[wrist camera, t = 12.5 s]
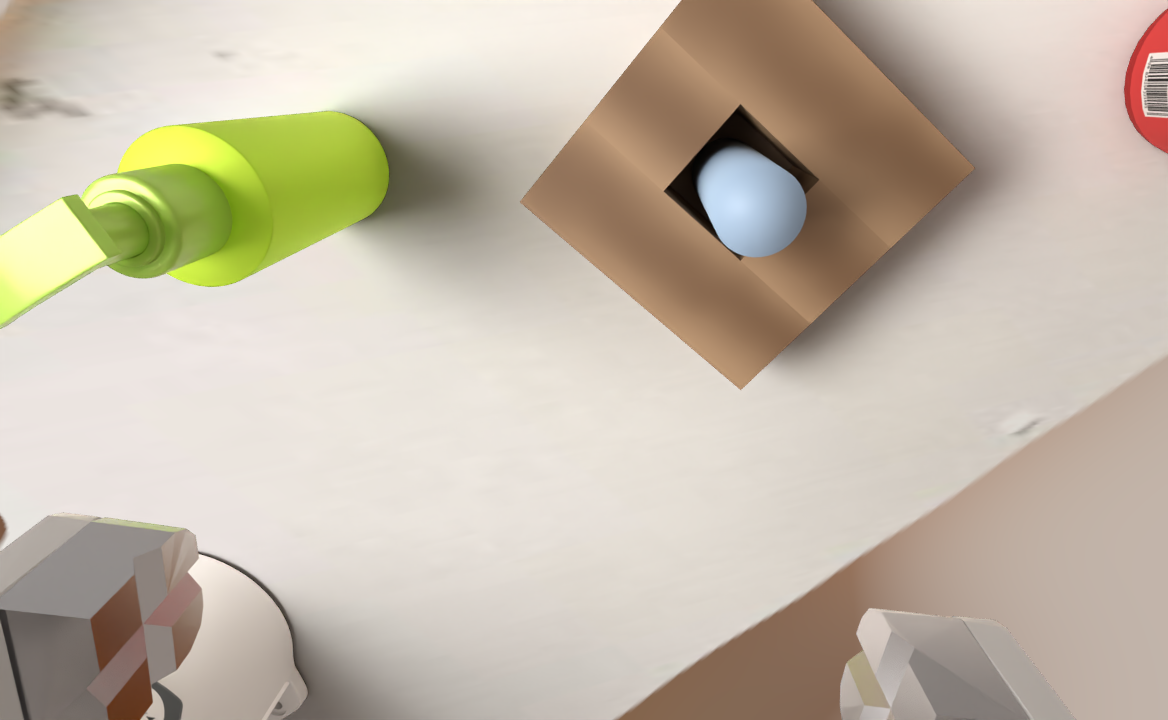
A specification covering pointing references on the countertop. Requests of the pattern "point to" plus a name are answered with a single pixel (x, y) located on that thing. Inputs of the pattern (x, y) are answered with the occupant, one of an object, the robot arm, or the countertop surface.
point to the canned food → (1150, 84)
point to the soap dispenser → (201, 205)
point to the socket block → (774, 129)
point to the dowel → (748, 198)
